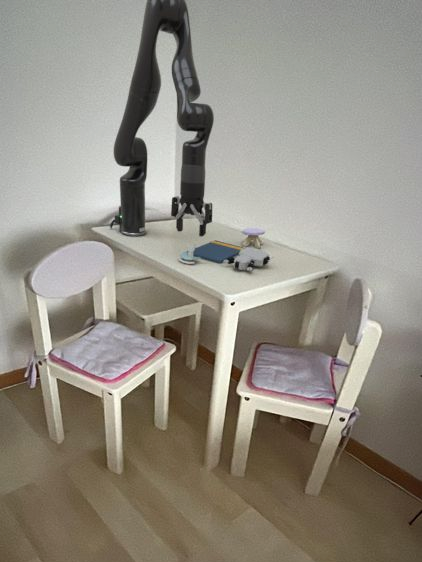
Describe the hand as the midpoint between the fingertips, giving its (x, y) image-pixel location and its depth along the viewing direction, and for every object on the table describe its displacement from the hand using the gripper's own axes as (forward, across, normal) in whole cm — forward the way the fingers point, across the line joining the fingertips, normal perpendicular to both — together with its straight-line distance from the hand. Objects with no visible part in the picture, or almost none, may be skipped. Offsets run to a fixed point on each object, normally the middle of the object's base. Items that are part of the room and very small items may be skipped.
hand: (190, 233), depth 140 cm
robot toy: (+10, -17, -10) cm, 22 cm away
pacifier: (+10, 0, 0) cm, 10 cm away
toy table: (+10, -7, -34) cm, 36 cm away
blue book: (+10, -2, -16) cm, 19 cm away
